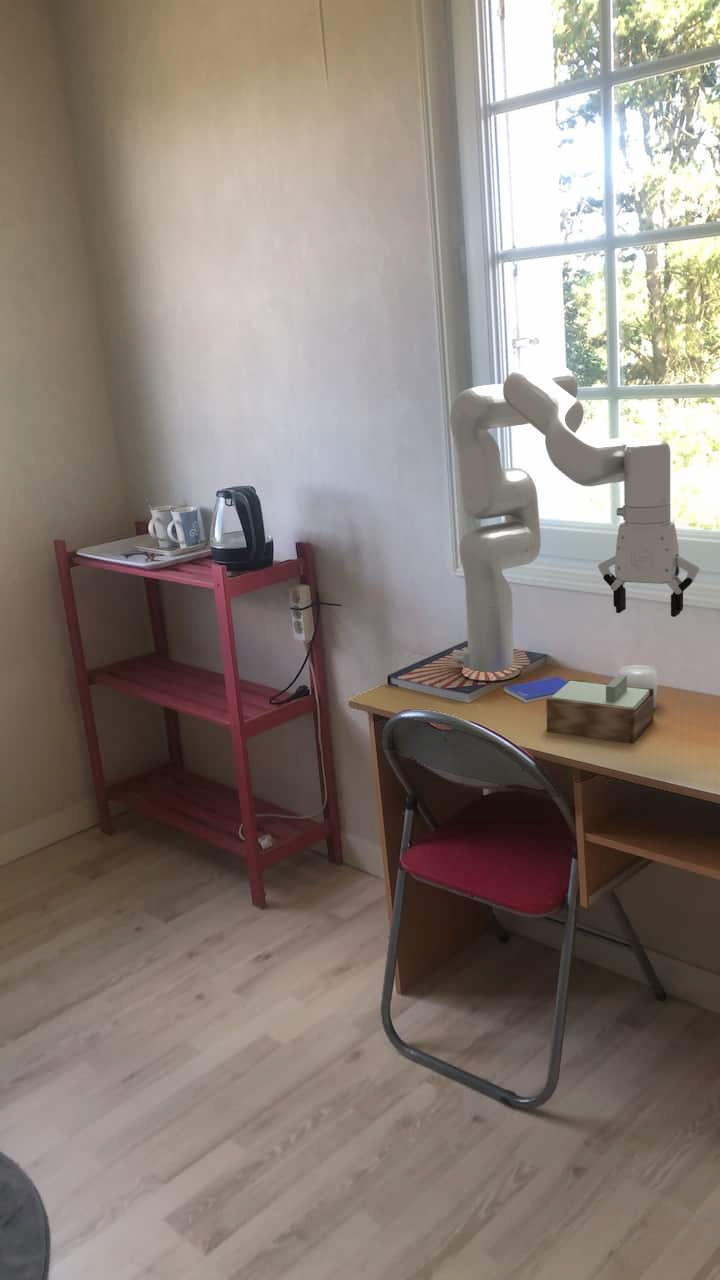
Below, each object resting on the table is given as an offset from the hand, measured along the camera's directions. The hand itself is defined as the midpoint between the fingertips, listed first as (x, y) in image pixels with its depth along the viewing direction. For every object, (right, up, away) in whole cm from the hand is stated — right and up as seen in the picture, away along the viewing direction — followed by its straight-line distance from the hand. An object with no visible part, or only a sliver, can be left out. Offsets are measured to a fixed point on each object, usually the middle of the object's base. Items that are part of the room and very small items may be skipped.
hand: (647, 613), depth 189 cm
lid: (-6, -15, +9) cm, 19 cm away
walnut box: (-6, -20, +11) cm, 24 cm away
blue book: (-13, -16, +31) cm, 37 cm away
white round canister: (+3, -17, +20) cm, 26 cm away
